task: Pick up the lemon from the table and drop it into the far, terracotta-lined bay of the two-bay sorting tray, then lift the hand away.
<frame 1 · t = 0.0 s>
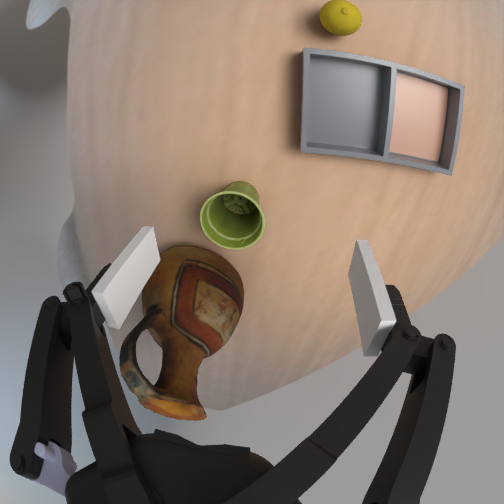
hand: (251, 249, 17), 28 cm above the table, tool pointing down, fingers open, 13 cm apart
plant pot: (241, 197, 46), on the table
lemon: (335, 23, 27), on the table
ceramic pitcher: (201, 275, 57), on the table
sorting tray: (381, 109, 34), on the table
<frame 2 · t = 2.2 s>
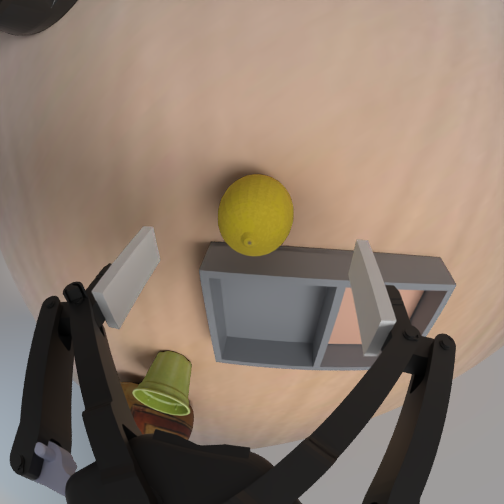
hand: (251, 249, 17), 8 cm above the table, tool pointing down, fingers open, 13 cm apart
plant pot: (175, 359, 43), on the table
lemon: (261, 191, 24), on the table
ceramic pitcher: (157, 392, 54), on the table
sorting tray: (324, 303, 30), on the table
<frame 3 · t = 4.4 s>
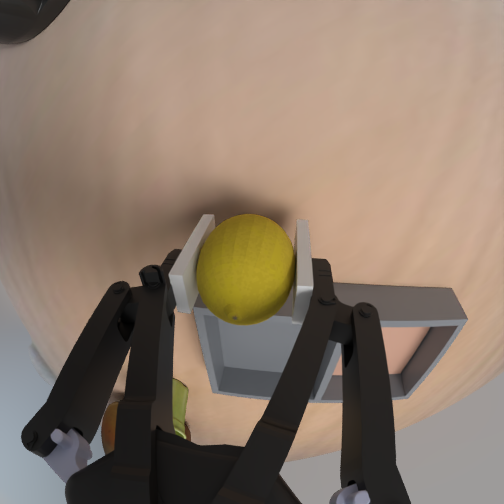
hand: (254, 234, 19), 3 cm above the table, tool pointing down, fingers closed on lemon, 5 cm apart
plant pot: (171, 383, 40), on the table
lemon: (255, 229, 19), point 2 cm above the table, touching gripper
ceramic pitcher: (153, 412, 51), on the table
sorting tray: (328, 336, 28), on the table
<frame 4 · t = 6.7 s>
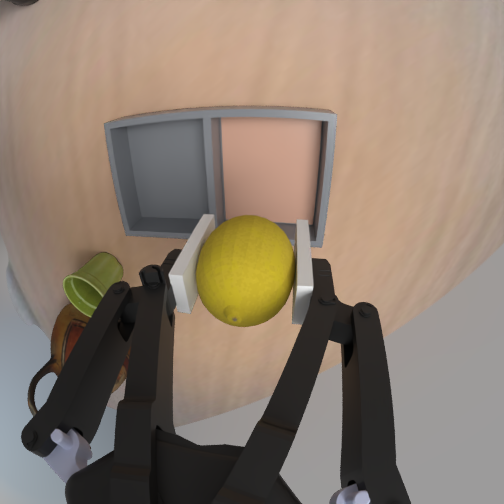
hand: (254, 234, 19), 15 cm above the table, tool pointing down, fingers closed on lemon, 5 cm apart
plant pot: (110, 265, 44), on the table
lemon: (255, 230, 19), point 14 cm above the table, touching gripper
ceramic pitcher: (105, 323, 55), on the table
sorting tray: (220, 167, 32), on the table
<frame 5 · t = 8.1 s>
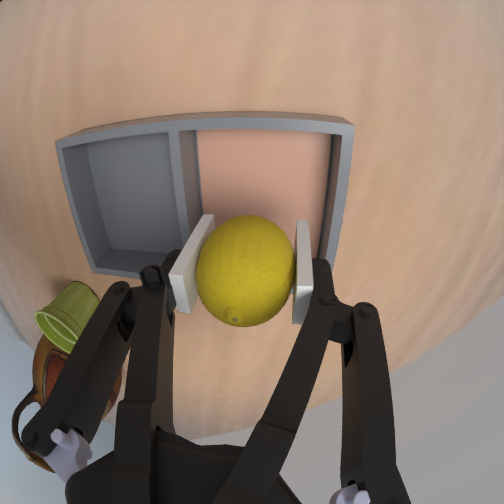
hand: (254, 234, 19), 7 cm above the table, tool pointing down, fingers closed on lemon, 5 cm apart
plant pot: (86, 294, 37), on the table
lemon: (255, 230, 19), point 6 cm above the table, touching gripper
ceramic pitcher: (88, 349, 48), on the table
sorting tray: (198, 192, 25), on the table
when the fingers open (5 cm above the table, at t = 8.8 s): lemon drops 3 cm, resting on sorting tray.
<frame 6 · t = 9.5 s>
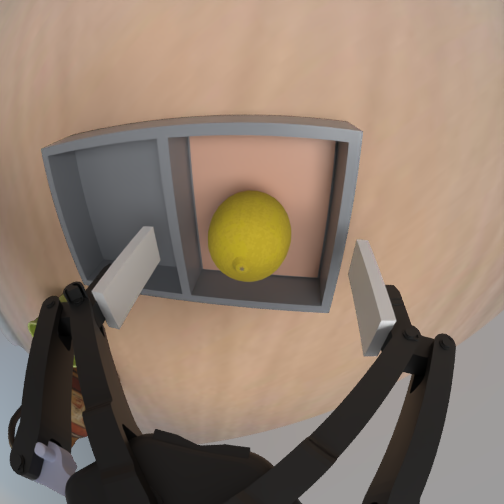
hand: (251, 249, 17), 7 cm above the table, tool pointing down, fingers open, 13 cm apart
lemon: (256, 207, 22), point 1 cm above the table, touching sorting tray
ceramic pitcher: (85, 357, 47), on the table
sorting tray: (192, 202, 23), on the table
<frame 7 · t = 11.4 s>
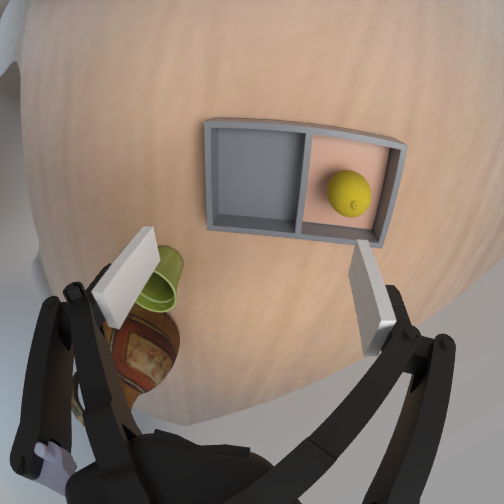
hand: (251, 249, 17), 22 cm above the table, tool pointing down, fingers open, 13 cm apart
plant pot: (168, 259, 48), on the table
lemon: (343, 182, 35), point 1 cm above the table, touching sorting tray
ceramic pitcher: (145, 318, 59), on the table
sorting tray: (302, 175, 36), on the table
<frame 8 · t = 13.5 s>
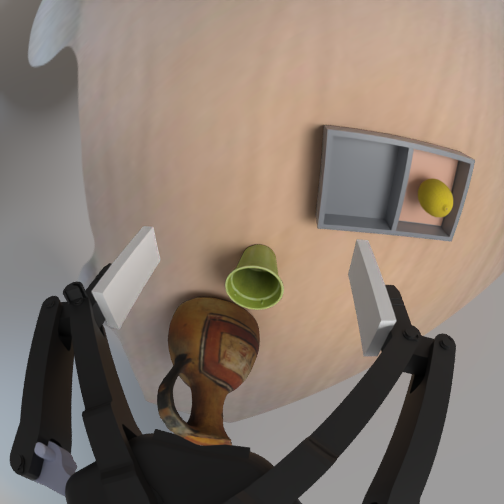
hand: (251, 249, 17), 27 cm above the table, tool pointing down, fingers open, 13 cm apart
plant pot: (259, 257, 51), on the table
lemon: (424, 187, 37), point 1 cm above the table, touching sorting tray
ceramic pitcher: (219, 317, 62), on the table
sorting tray: (393, 180, 39), on the table
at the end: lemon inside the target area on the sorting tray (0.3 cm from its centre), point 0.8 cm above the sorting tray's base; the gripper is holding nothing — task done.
